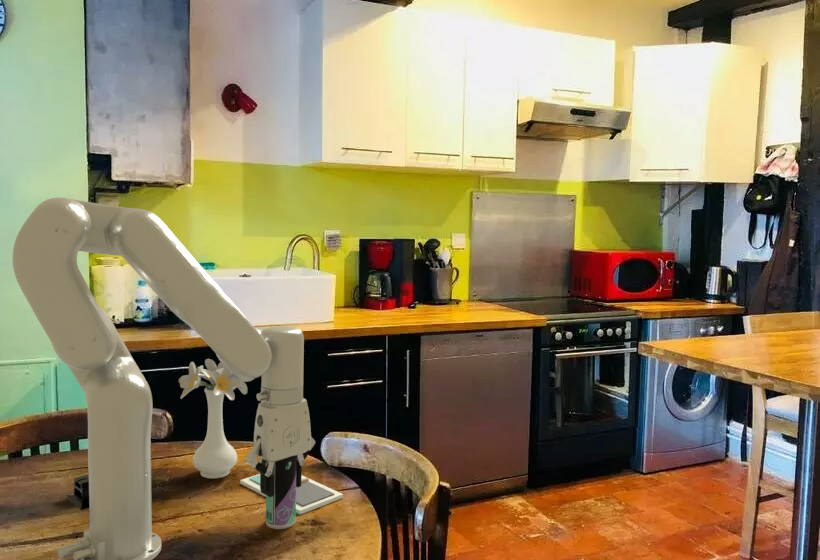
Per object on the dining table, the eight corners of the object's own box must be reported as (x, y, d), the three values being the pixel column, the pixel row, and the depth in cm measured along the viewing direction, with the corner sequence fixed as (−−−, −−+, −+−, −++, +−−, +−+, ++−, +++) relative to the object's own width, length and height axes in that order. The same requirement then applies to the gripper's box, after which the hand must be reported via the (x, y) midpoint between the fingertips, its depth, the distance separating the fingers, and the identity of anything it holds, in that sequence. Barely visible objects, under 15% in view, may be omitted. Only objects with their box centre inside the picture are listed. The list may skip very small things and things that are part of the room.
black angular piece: (54, 496, 138) (54, 474, 137) (92, 486, 143) (91, 465, 142) (80, 516, 129) (79, 493, 129) (118, 505, 135) (118, 482, 134)
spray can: (289, 530, 125) (290, 424, 123) (260, 527, 126) (261, 421, 124) (299, 517, 131) (301, 415, 128) (272, 514, 132) (273, 412, 129)
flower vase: (260, 460, 158) (261, 353, 156) (221, 492, 140) (222, 372, 138) (209, 454, 161) (209, 349, 158) (164, 484, 143) (163, 367, 141)
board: (299, 514, 132) (300, 507, 132) (240, 483, 145) (240, 476, 145) (343, 498, 140) (343, 490, 140) (282, 469, 153) (282, 463, 153)
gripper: (254, 408, 117) (253, 510, 119) (331, 390, 129) (329, 483, 131) (229, 398, 122) (229, 496, 124) (306, 382, 135) (304, 471, 137)
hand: (281, 488), depth 128 cm, fingers closed on spray can, 5 cm apart
